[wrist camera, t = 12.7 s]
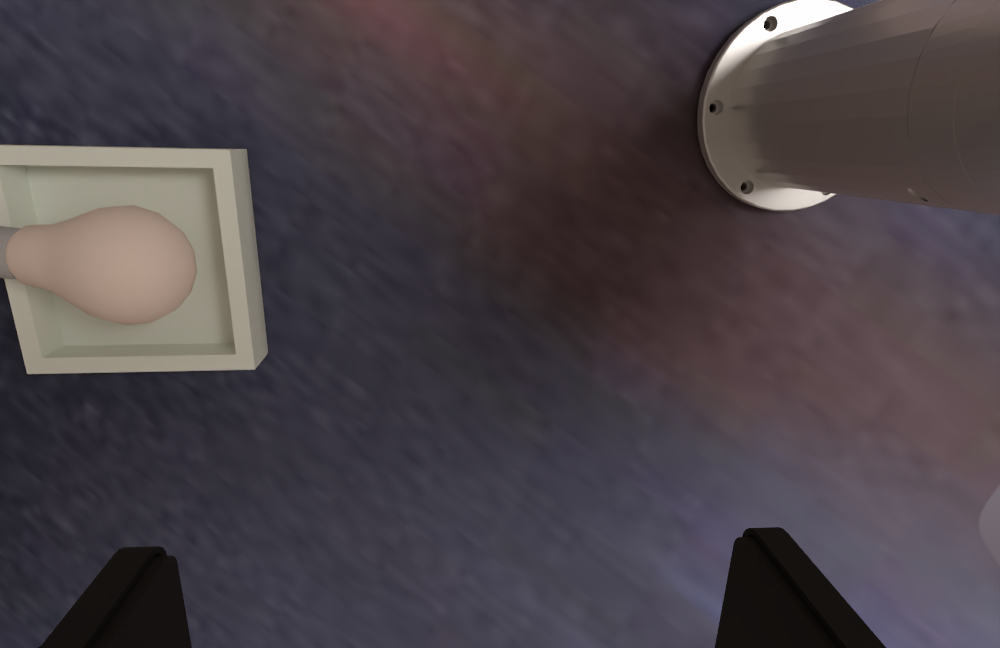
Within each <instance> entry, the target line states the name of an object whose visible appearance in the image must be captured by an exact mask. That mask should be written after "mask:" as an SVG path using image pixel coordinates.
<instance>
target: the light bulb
mask: <svg viewBox="0 0 1000 648" xmlns="http://www.w3.org/2000/svg"><path fill="white" fill-rule="evenodd" d="M196 275H197V267H196V259H195V252H194V249H193V247H192V246H191V244H190V242H189V241H188V239H187V237H186V236H185V234H184V232H183V231H181V230H180V229H179V228H178V227H176V226H175V225H174V224H172V223H171V222H170V221H168V220H167V219H166V218H165V217H163V216H162V215H161V214H159V213H157V212H154V211H151V210H148V209H144V208H141V207H138V206H135V205H129V206H115V207H104V208H97V209H94V210H92V211H89V212H87V213H84V214H81V215H79V216H76V217H74V218H71V219H68V220H65V221H62V222H58V223H55V224H49V225H27V226H24V227H22V228H13V227H4V226H0V278H6V279H17V280H18V281H19V282H20V283H22V284H25V285H29V286H33V287H38V288H42V289H46V290H48V291H50V292H51V293H53V294H55V295H57V296H59V297H61V298H63V299H64V300H66V301H68V302H69V303H71V304H72V305H74V306H75V307H77V308H78V309H80V310H82V311H83V312H85V313H86V314H88V315H89V316H93V317H96V318H100V319H104V320H107V321H111V322H115V323H119V324H123V325H133V324H144V323H152V322H154V321H155V320H157V319H159V318H161V317H163V316H165V315H167V314H169V313H171V312H173V311H174V310H176V309H177V308H178V307H179V306H180V305H181V304H182V303H183V302H184V300H185V299H186V298H187V297H188V296H189V294H190V293H191V291H192V288H193V285H194V281H195V278H196Z"/></svg>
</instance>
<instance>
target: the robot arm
mask: <svg viewBox="0 0 1000 648" xmlns="http://www.w3.org/2000/svg"><path fill="white" fill-rule="evenodd" d="M764 23H765V24H766V28H765V29H764ZM710 104H711V105H712V106H713V110H712V112H710V109H709V107H710ZM697 133H698V138H699V143H700V148H701V153H702V155H703V157H704V160H705V162H706V165H707V167H708V169H709V171H710V172H711V174H712V175H713V177H714V178H715V180H716V181H717V183H718V184H719V185H720V186H721V187H722V188H724V189H725V190H726V191H727V192H728V193H729V194H730V195H731V196H733V197H735V198H736V199H738V200H740V201H741V202H743V203H745V204H748V205H751V206H754V207H757V208H760V209H766V210H771V211H795V210H800V209H805V208H809V207H812V206H814V205H817V204H820V203H822V202H825V201H827V200H828V199H830V198H831V197H833V196H835V195H836V194H841V195H849V196H856V197H864V198H872V199H880V200H887V201H895V202H903V203H911V204H918V205H926V206H934V207H942V208H949V209H957V210H965V211H973V212H979V213H987V214H995V215H1000V0H881V1H878V2H875V3H872V4H869V5H866V6H863V7H859V8H856V9H853V8H852V7H849V6H847V5H845V4H842V3H840V2H838V1H835V0H792V1H789V2H785V3H782V4H778V5H776V6H774V7H771V8H769V9H767V10H765V11H762V12H761V13H759V14H758V15H756V16H755V17H753V18H751V19H750V20H748V21H747V22H745V23H744V24H743V25H742V26H741V27H740V28H739V29H738V30H737V31H736V32H735V33H733V34H732V35H731V36H730V37H729V39H728V40H727V41H726V43H725V44H724V45H723V47H722V48H721V49H720V50H719V52H718V53H717V55H716V57H715V58H714V60H713V62H712V64H711V66H710V68H709V70H708V72H707V74H706V77H705V80H704V83H703V86H702V89H701V92H700V98H699V104H698V111H697ZM742 183H743V188H742V189H741V185H742ZM38 648H192V647H191V641H190V635H189V629H188V623H187V617H186V611H185V605H184V599H183V594H182V588H181V582H180V576H179V570H178V564H177V560H176V558H175V557H174V556H167V554H166V551H165V550H164V548H163V547H126V548H122V549H119V550H118V551H117V552H116V553H115V554H114V555H113V557H112V558H111V559H110V560H109V562H108V563H107V564H106V565H105V567H104V568H103V569H102V570H101V572H100V573H99V574H98V575H97V577H96V578H95V579H94V580H93V582H92V583H91V584H90V585H89V587H88V588H87V589H86V590H85V592H84V593H83V594H82V595H81V597H80V598H79V599H78V600H77V602H76V603H75V604H74V605H73V607H72V608H71V609H70V610H69V612H68V613H67V614H66V615H65V617H64V618H63V619H62V620H61V622H60V623H59V624H58V625H57V627H56V628H55V629H54V630H53V632H52V633H51V634H50V635H49V637H48V638H47V639H46V640H45V642H44V643H43V644H42V645H41V646H40V647H38ZM715 648H886V647H885V646H884V645H883V644H882V642H881V641H880V640H879V639H878V638H877V637H876V635H875V634H874V633H873V632H872V631H871V630H870V628H869V627H868V626H867V625H866V624H865V623H864V621H863V620H862V619H861V618H860V617H859V616H858V614H857V613H856V612H855V611H854V610H853V609H852V607H851V606H850V605H849V604H848V603H847V602H846V600H845V599H844V598H843V597H842V596H841V595H840V593H839V592H838V591H837V590H836V589H835V588H834V586H833V585H832V584H831V583H830V582H829V581H828V580H827V578H826V577H825V576H824V575H823V574H822V573H821V571H820V570H819V569H818V568H817V567H816V566H815V564H814V563H813V562H812V561H811V560H810V559H809V557H808V556H807V555H806V554H805V553H804V552H803V550H802V549H801V548H800V547H799V546H798V545H797V543H796V542H795V541H794V540H793V539H792V538H791V536H790V535H789V534H788V533H787V532H786V531H785V530H784V529H782V528H779V527H774V528H749V529H746V530H745V532H744V533H743V536H742V537H739V538H737V539H736V540H735V542H734V546H733V552H732V557H731V562H730V568H729V573H728V579H727V584H726V590H725V595H724V601H723V606H722V612H721V617H720V622H719V628H718V633H717V639H716V644H715Z"/></svg>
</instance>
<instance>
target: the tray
mask: <svg viewBox="0 0 1000 648" xmlns="http://www.w3.org/2000/svg"><path fill="white" fill-rule="evenodd" d="M129 205H135V206H138V207H141V208H144V209H148V210H151V211H154V212H157V213H159V214H161V215H162V216H163V217H165V218H166V219H167V220H168V221H170V222H171V223H172V224H174V225H175V226H176V227H178V228H179V229H180V230H181V231H183V232H184V234H185V236H186V237H187V239H188V241H189V242H190V244H191V246H192V247H193V249H194V252H195V259H196V267H197V275H196V278H195V281H194V285H193V288H192V291H191V293H190V294H189V296H188V297H187V298H186V299H185V300H184V302H183V303H182V304H181V305H180V306H179V307H178V308H177V309H176V310H174V311H173V312H171V313H169V314H167V315H165V316H163V317H161V318H159V319H157V320H155V321H154V322H152V323H144V324H133V325H123V324H119V323H115V322H111V321H107V320H104V319H100V318H96V317H93V316H89V315H88V314H86V313H85V312H83V311H82V310H80V309H78V308H77V307H75V306H74V305H72V304H71V303H69V302H68V301H66V300H64V299H63V298H61V297H59V296H57V295H55V294H53V293H51V292H50V291H48V290H46V289H42V288H38V287H33V286H29V285H25V284H22V283H20V282H19V281H18V280H17V279H6V278H4V280H5V284H6V288H7V292H8V296H9V301H10V305H11V309H12V313H13V317H14V321H15V326H16V330H17V334H18V338H19V342H20V346H21V351H22V355H23V359H24V363H25V367H26V371H27V374H59V373H109V372H159V371H209V370H255V369H256V368H257V366H258V365H259V364H260V363H261V361H262V360H263V359H264V357H265V356H266V355H267V354H268V346H267V336H266V327H265V318H264V308H263V299H262V289H261V280H260V270H259V261H258V251H257V242H256V232H255V223H254V213H253V204H252V195H251V185H250V176H249V166H248V157H247V149H217V148H164V147H112V146H59V145H0V226H4V227H13V228H22V227H24V226H27V225H49V224H55V223H58V222H62V221H65V220H68V219H71V218H74V217H76V216H79V215H81V214H84V213H87V212H89V211H92V210H94V209H97V208H104V207H115V206H129Z"/></svg>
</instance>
